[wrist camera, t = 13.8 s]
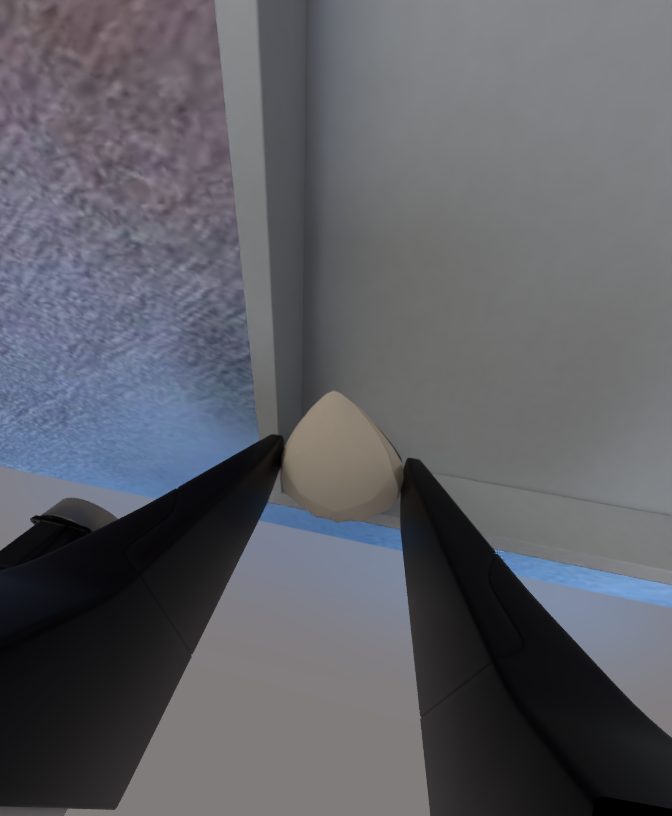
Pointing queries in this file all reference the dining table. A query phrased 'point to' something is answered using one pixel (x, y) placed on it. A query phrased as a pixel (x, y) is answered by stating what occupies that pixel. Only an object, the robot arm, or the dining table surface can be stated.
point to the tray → (469, 250)
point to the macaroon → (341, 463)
